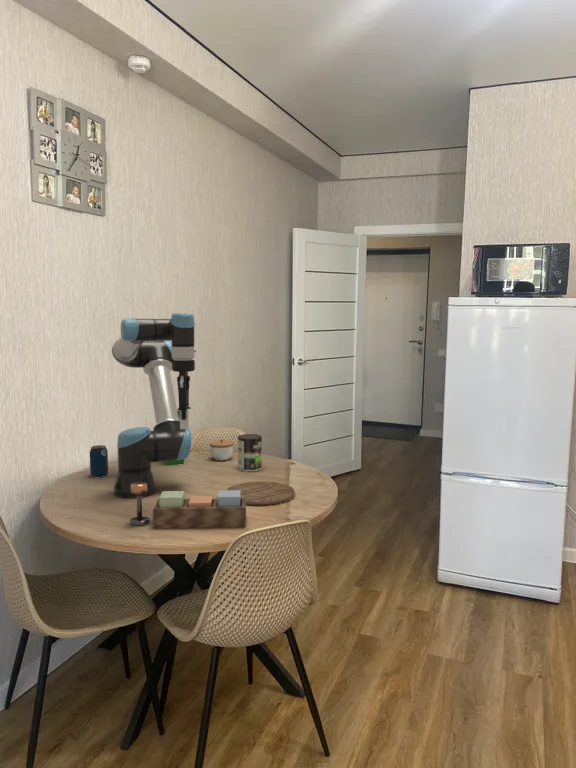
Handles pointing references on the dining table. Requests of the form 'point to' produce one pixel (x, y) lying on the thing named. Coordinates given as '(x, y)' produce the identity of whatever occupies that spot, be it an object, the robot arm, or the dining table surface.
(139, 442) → the robot arm
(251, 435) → the coffee can
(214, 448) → the lidded jar
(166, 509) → the button console
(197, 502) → the terracotta button
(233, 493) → the slate button
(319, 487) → the dining table surface
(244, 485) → the trivet
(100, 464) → the soda can
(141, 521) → the indicator lamp
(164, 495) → the sage button
